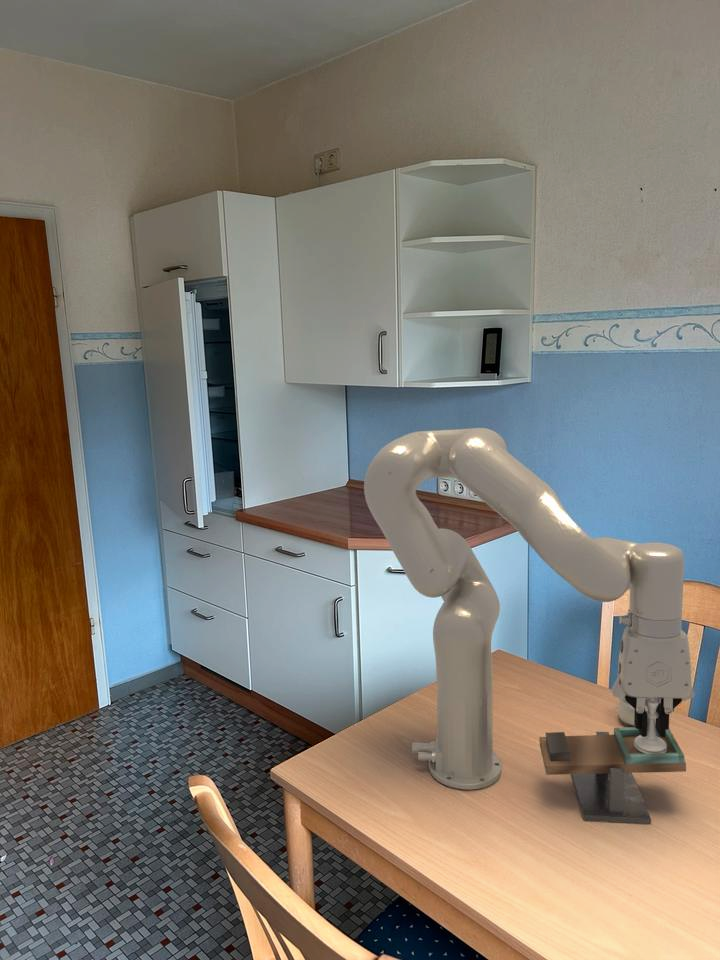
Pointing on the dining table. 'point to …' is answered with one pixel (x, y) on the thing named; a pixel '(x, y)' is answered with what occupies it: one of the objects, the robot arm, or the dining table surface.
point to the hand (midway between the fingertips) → (651, 731)
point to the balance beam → (607, 753)
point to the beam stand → (610, 797)
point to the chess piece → (651, 732)
